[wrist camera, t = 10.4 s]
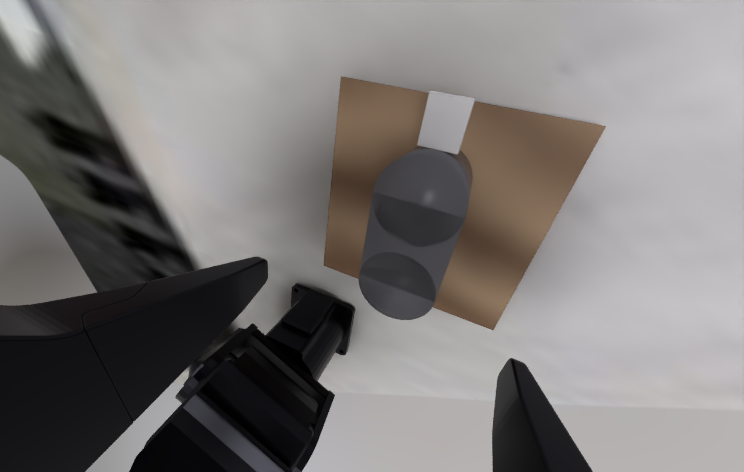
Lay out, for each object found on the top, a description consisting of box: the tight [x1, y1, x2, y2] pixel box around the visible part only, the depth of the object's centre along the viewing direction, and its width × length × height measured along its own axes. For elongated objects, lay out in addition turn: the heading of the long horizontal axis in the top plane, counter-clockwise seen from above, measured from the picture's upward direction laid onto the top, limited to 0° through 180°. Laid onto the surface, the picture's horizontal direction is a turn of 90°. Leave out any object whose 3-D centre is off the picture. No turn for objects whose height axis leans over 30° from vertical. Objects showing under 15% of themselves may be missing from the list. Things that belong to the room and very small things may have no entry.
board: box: [324, 77, 606, 330], centre depth 18 cm, size 14×14×1 cm
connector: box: [359, 90, 476, 320], centre depth 15 cm, size 12×4×5 cm, turn 170°
